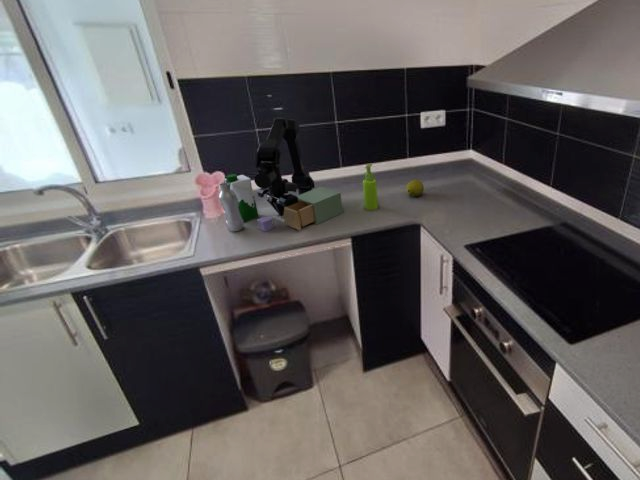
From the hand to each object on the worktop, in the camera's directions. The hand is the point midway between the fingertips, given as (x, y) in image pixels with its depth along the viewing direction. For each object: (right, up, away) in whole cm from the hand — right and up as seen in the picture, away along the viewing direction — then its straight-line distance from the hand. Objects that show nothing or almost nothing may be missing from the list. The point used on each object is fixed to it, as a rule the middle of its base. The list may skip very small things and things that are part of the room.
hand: (281, 215), depth 152 cm
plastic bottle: (-20, -6, +5) cm, 21 cm away
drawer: (+4, -2, +8) cm, 9 cm away
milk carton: (-20, 0, +15) cm, 25 cm away
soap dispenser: (+33, +5, +23) cm, 41 cm away
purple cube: (-8, -5, +5) cm, 11 cm away
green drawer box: (+11, +1, +16) cm, 20 cm away
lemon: (+53, +11, +34) cm, 64 cm away
